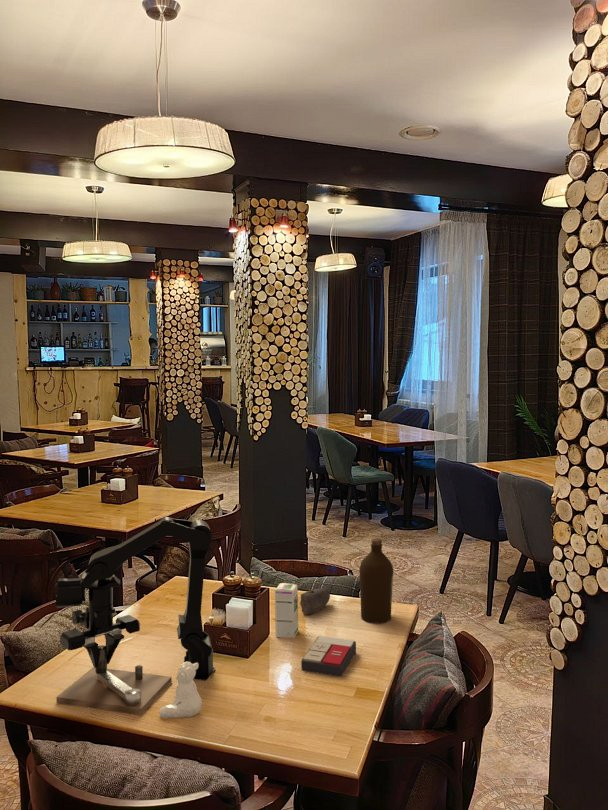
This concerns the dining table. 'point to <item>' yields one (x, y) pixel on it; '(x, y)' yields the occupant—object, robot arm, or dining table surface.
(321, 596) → the perforated stone tool
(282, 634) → the syrup box
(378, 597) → the olive oil
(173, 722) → the dining table surface
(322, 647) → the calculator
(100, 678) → the lever
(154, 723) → the dining table surface
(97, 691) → the board
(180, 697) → the sitting furry creature
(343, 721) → the dining table surface
